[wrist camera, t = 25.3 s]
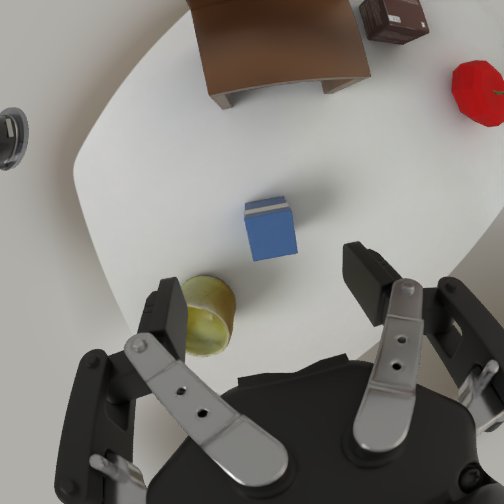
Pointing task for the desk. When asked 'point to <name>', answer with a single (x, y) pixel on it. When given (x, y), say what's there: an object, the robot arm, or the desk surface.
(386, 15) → the box
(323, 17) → the chair
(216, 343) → the mug
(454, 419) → the robot arm
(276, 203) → the carton
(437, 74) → the desk surface
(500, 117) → the apple
